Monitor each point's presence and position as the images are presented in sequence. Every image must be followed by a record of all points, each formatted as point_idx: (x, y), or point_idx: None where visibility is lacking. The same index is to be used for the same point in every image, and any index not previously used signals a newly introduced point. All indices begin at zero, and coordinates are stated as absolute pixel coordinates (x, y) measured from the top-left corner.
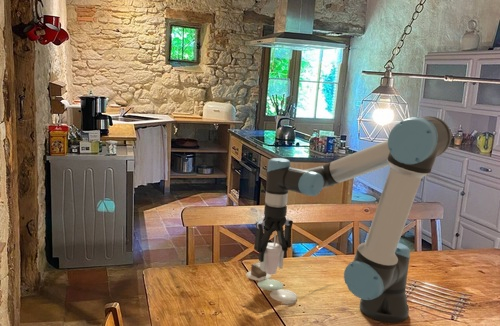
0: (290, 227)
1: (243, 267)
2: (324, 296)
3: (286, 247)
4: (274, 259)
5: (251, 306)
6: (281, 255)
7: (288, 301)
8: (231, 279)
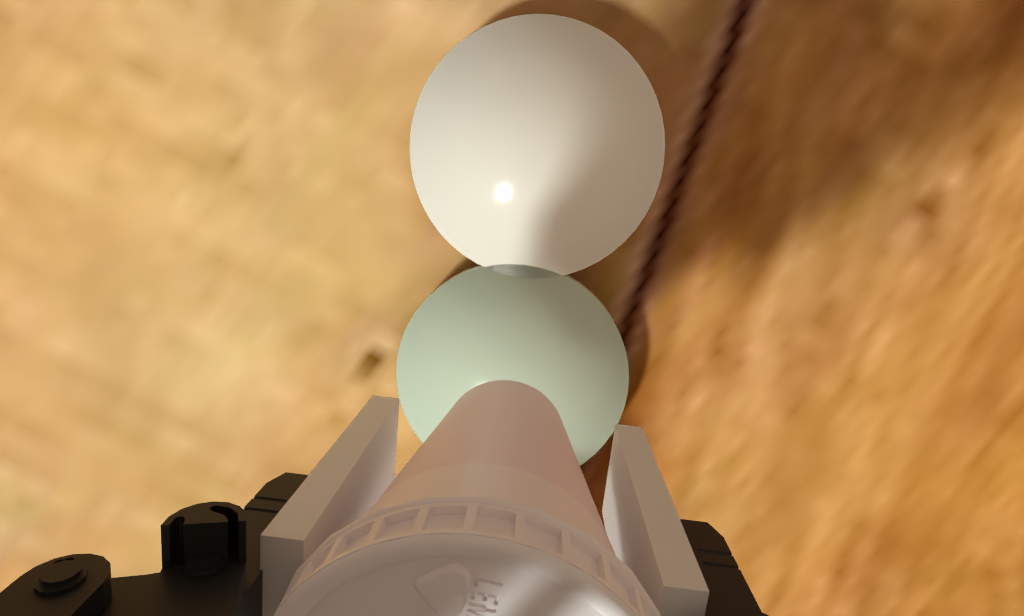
0: None
1: None
2: (164, 4)
3: (160, 576)
4: (523, 449)
5: (874, 170)
6: (337, 497)
7: (573, 22)
8: None
